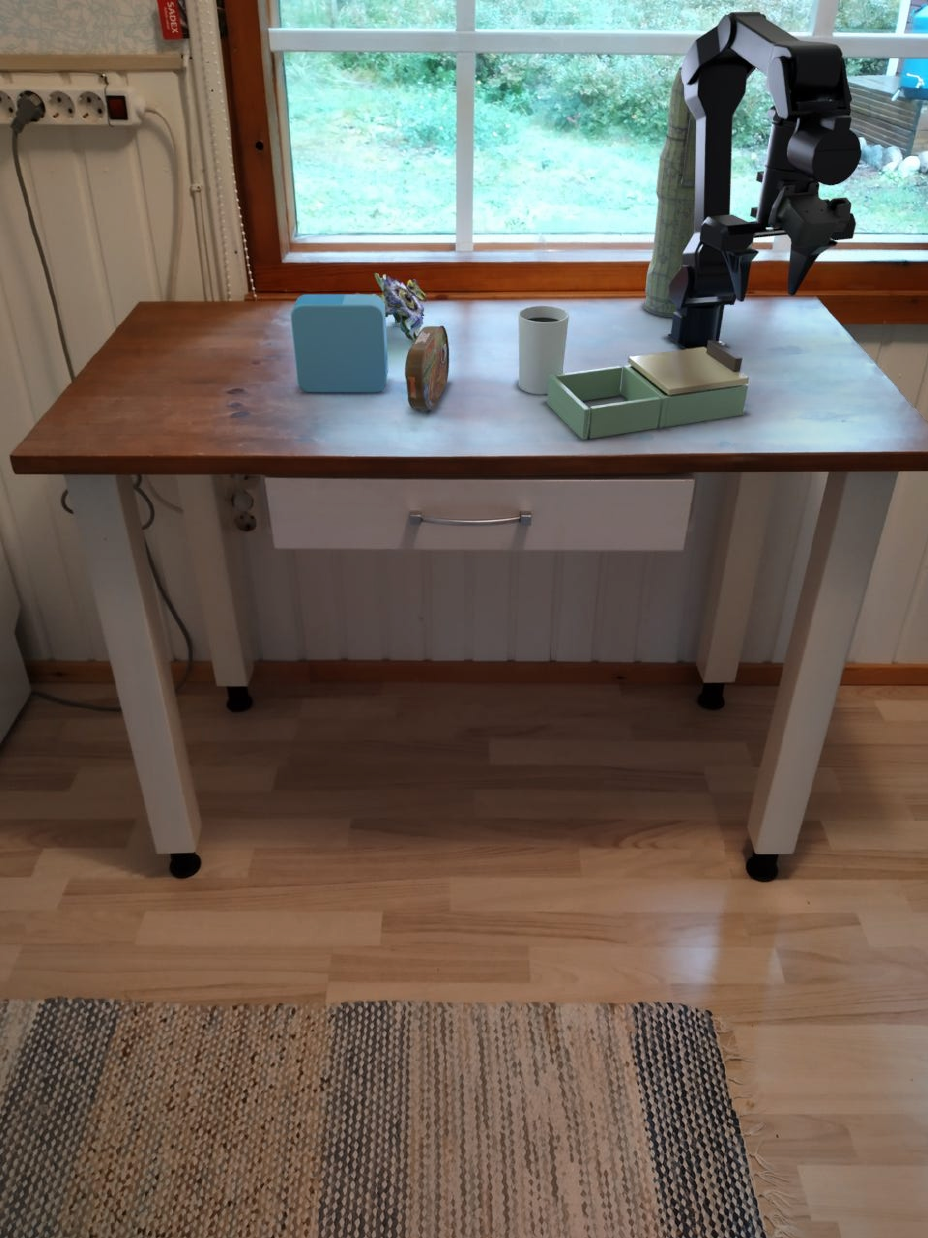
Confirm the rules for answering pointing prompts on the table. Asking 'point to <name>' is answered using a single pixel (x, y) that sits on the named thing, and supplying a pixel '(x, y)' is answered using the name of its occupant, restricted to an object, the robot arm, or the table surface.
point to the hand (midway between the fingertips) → (765, 297)
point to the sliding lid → (692, 368)
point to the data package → (340, 343)
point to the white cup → (541, 346)
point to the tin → (427, 367)
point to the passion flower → (402, 304)
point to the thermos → (673, 202)
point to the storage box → (634, 402)
